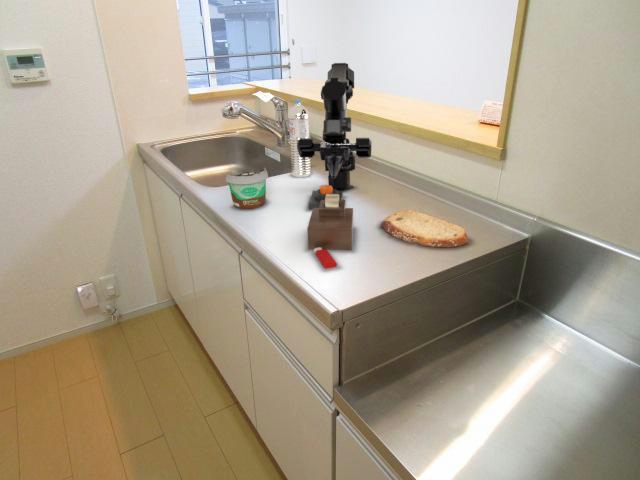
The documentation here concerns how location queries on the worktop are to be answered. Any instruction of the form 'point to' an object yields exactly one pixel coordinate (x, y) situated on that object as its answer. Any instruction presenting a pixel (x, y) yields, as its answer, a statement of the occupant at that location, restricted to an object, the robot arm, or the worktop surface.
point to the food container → (248, 189)
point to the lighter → (325, 258)
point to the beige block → (332, 200)
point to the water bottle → (298, 130)
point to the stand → (331, 227)
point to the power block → (321, 198)
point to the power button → (325, 189)
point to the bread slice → (424, 229)
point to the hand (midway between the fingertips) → (333, 177)
